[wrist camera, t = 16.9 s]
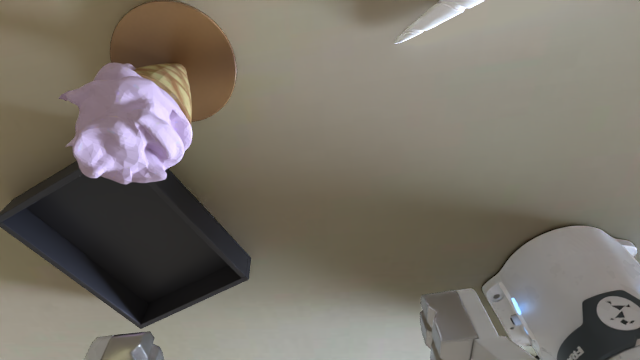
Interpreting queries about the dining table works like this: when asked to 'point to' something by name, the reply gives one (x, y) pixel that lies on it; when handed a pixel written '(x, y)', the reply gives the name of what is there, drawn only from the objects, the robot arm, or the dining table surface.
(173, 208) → the tray
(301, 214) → the dining table surface
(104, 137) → the ice cream cone
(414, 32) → the unicorn horn
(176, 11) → the coaster
